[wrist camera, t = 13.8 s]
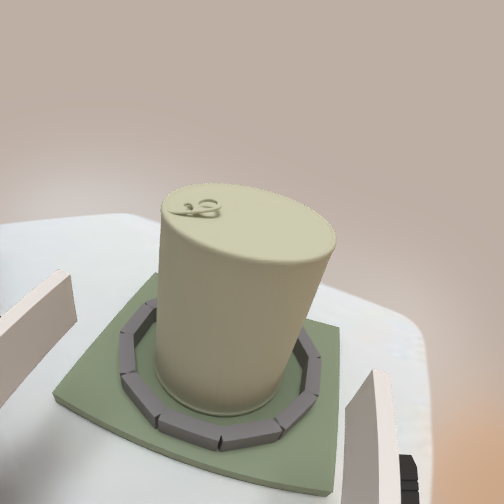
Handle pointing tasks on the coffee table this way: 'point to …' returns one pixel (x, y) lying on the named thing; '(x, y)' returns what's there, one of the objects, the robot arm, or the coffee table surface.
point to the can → (233, 293)
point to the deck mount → (206, 426)
